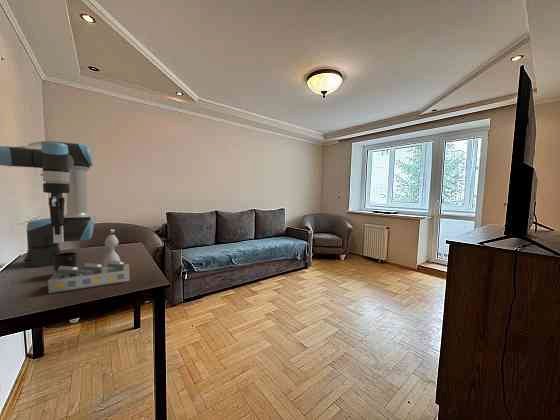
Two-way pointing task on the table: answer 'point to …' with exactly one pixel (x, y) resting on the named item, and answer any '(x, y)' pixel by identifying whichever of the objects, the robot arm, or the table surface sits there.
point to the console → (88, 279)
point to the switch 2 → (92, 267)
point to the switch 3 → (115, 264)
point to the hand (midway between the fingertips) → (58, 242)
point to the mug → (64, 260)
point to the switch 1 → (67, 270)
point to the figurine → (111, 249)
